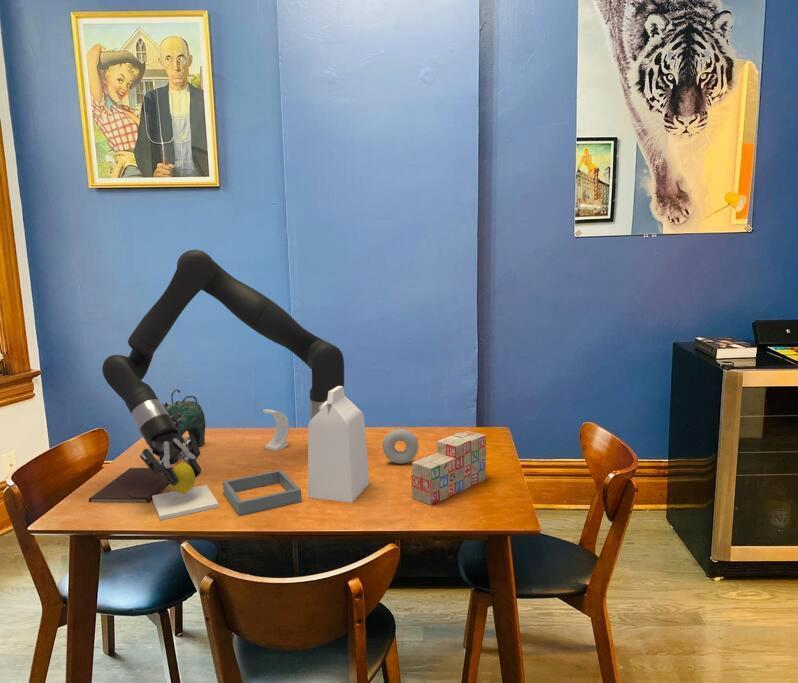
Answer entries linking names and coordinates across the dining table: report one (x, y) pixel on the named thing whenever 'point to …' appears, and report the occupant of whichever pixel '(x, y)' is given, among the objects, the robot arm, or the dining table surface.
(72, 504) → the dining table surface
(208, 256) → the robot arm
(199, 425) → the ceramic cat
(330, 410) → the milk
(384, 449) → the donut
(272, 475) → the grey square frame
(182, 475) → the lemon
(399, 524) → the dining table surface
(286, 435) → the headphone stand
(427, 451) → the dining table surface
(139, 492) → the notebook
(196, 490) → the board
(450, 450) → the stack of blocks
